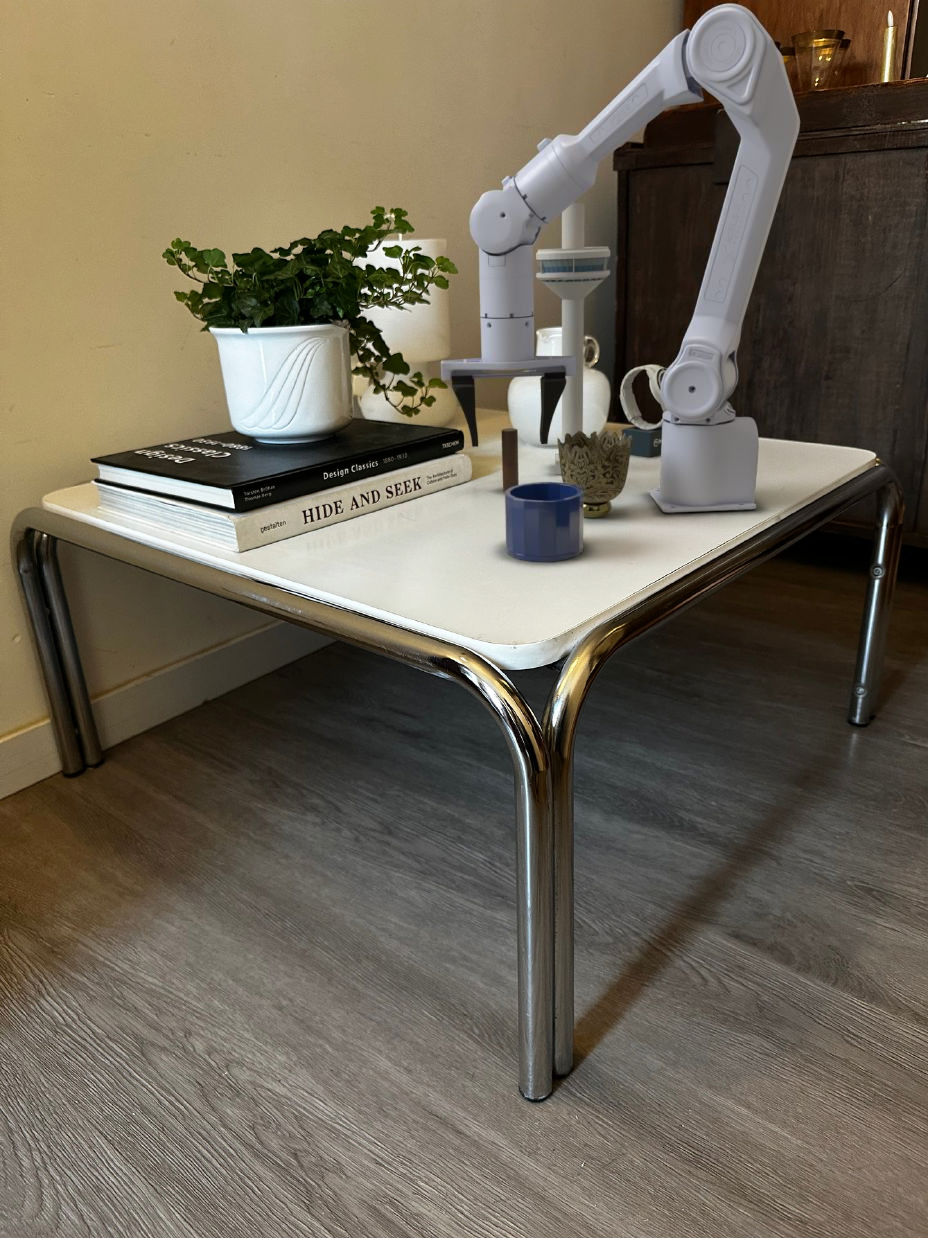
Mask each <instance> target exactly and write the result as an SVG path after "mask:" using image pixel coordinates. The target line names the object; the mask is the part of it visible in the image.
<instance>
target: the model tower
mask: <svg viewBox="0 0 928 1238" xmlns="http://www.w3.org/2000/svg"><path fill="white" fill-rule="evenodd" d="M585 208H586V206H585V202H574V203H572V204H571V205H570V206H569V207H568V208H567V209H565V210H564V211H563V212H562V213H561V247H557V248H556V247H555V248H538V249H537V252H536V253H535V259H536V261H537V265H538V271H539V272H536V273H535V277H536V278H537V279H538V280H539V281H540V282H541V283H542V284H544V285H545V286H546V287H547V288H548V289H550V290H551V291H552V292H553V293H554V294H555V295H557V297H559V298H560V299H561V356H574V357H575V358H576V375H575V376H565V378H566V386H565V389H564V391H563V393H562V395H561V442H562V443H564V442H565V434H566V433H569V434H570V435H571V437H572V436H573V435H574V434H575V433H576V432H578V431H581V432H583V433H584V336H585V335H584V332H585V328H584V327H585V326H584V323H585V321H584V320H585V319H584V318H585V317H584V316H585V313H584V312H585V298H586V297H587V296H588V295H590V293H592V291H594V290H595V289H596V288H597V287H598V286H600V284H601V283H603V281H604V280H605V279H607V277H608V276H610V274H611V270H610V269H607V268H608V265H609V259H610V257H611V250H610V249H609V246H585V213H586V211H585ZM555 475H561V468H560V459H559V452H557V453H554V476H555Z"/></svg>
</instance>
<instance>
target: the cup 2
mask: <svg viewBox="0 0 928 1238" xmlns="http://www.w3.org/2000/svg"><path fill="white" fill-rule="evenodd" d="M597 433H598V432H597V430H595V431H592V432H591V433H590V435H589V436H588V435H587V434H586V433H584V431H583V432H581V431H578V432H576V433H575V434H574V435H573V436H572V437H571V435H570V434H569V433H566V434H565V442H564V443H562V440H561V439H560V438H559V437H557V438H556V439H557V449H558V453H559V459H560V468H561V474H560V475H561V481H562V483H566V484H572V485H575V486H578V487H580V488H582V490H583V492H584V517H585V518H592V519H596V518H603V517H606V516H608V515H610V513H611V511H612V509H613V504H612V502H611V501H613V500H614V499H616V498H617V497H618V496H619V495H620V494H621V493H622V492H623V490H624V488H625V485H626V482H627V478H628V474H629V467H630V460H631V459H630V458H631V454H630V452H631V446H632V435H631V436H629V437H628V438H627V437H626V434H625V433H624V435H623V437H622V436H621V438H620V437H619V435H618V433H617V432H616V431H614V432H612V434H611V433H610V432H609V431H608V430H605V431H604V432H603V433H602V434H601V435H600V437H598V434H597ZM626 438H627V439H626Z"/></svg>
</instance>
